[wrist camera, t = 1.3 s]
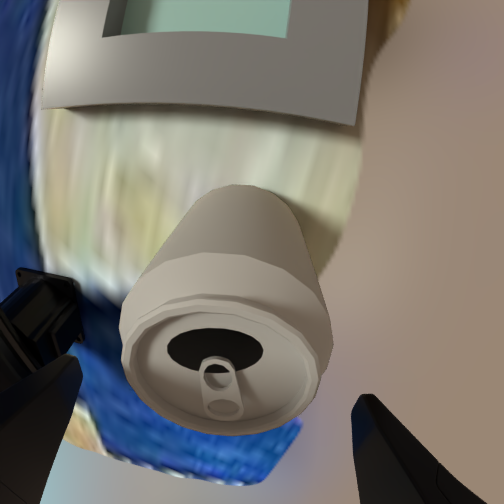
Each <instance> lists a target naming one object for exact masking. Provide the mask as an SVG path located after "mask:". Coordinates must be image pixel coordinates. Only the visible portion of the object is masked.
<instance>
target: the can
mask: <svg viewBox="0 0 504 504" xmlns="http://www.w3.org/2000/svg"><path fill="white" fill-rule="evenodd" d="M119 330H120V335H121V339H122V343H123V349H122V356H121V362H122V365H123V368H124V372H125V375H126V378H127V381H128V382H129V384H130V385H131V387H132V388H133V389H134V391H135V392H136V394H137V395H138V396H139V398H140V399H141V400H142V401H143V402H144V403H145V404H147V405H148V406H149V407H150V408H152V409H153V410H154V411H155V412H156V413H158V414H159V415H160V416H162V417H164V418H166V419H168V420H170V421H172V422H174V423H176V424H178V425H180V426H182V427H185V428H188V429H192V430H195V431H199V432H202V433H206V434H214V435H225V436H239V435H250V434H258V433H261V432H265V431H268V430H271V429H274V428H277V427H280V426H282V425H284V424H285V423H287V422H289V421H290V420H292V419H293V418H295V417H297V416H298V415H300V414H301V413H302V412H303V411H304V410H305V409H306V407H307V406H308V405H309V404H310V403H311V402H312V400H313V399H314V398H315V396H316V393H317V390H318V387H319V384H320V380H321V376H322V374H323V373H324V372H325V370H326V369H327V366H328V363H329V359H330V356H331V352H332V349H333V337H332V331H331V324H330V318H329V314H328V311H327V308H326V304H325V301H324V298H323V295H322V292H321V289H320V285H319V282H318V279H317V276H316V273H315V270H314V267H313V264H312V261H311V258H310V255H309V252H308V249H307V246H306V243H305V240H304V237H303V234H302V231H301V228H300V225H299V222H298V221H297V219H296V218H295V216H294V214H293V213H292V211H291V209H290V208H289V206H288V205H287V204H285V203H284V202H283V201H282V200H281V199H279V198H278V197H277V196H276V195H274V194H273V193H271V192H269V191H266V190H263V189H261V188H258V187H256V186H251V185H229V186H225V187H221V188H218V189H214V190H212V191H210V192H209V193H207V194H206V195H204V196H203V197H201V198H200V199H198V200H197V201H196V202H195V203H194V205H193V206H192V207H191V209H190V210H189V211H188V212H187V214H186V215H185V216H184V218H183V219H182V220H181V221H180V223H179V224H178V225H177V227H176V228H175V229H174V231H173V232H172V233H171V235H170V236H169V237H168V239H167V240H166V241H165V243H164V244H163V245H162V247H161V248H160V250H159V251H158V252H157V254H156V255H155V256H154V258H153V259H152V261H151V262H150V263H149V265H148V266H147V267H146V269H145V270H144V272H143V273H142V275H141V276H140V277H139V279H138V280H137V282H136V283H135V285H134V286H133V288H132V289H131V291H130V292H129V294H128V295H127V297H126V299H125V300H124V302H123V304H122V311H121V317H120V324H119Z"/></svg>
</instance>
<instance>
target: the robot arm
mask: <svg viewBox="0 0 504 504" xmlns="http://www.w3.org/2000/svg"><path fill="white" fill-rule="evenodd" d="M16 277H17V281H18V285H19V287H18V288H17V289H15V290H14V291H13V292H12V293H11V294H10V295H9V296H8V297H7V298H6V299H4V300H3V301H2V302H1V303H0V504H40V501H41V498H42V495H43V491H44V488H45V485H46V482H47V479H48V477H49V474H50V471H51V468H52V465H53V462H54V460H55V457H56V454H57V452H58V449H59V446H60V444H61V441H62V439H63V436H64V434H65V431H66V429H67V426H68V424H69V421H70V419H71V416H72V413H73V409H74V406H75V402H76V399H77V396H78V392H79V389H80V386H81V383H82V379H83V373H82V370H81V367H80V364H79V361H78V358H77V357H76V356H73V355H70V354H66V353H67V351H68V350H69V348H70V347H71V346H72V344H73V343H74V342H76V343H83V341H84V340H85V337H84V333H83V327H82V323H81V318H80V314H79V309H78V306H77V301H76V296H75V290H74V284H73V282H72V280H71V279H70V278H67V277H62V276H57V275H52V274H48V273H43V272H39V271H34V270H30V269H25V268H21V267H20V268H18V269H17V270H16ZM66 283H67V284H68V285H67V284H66ZM351 422H352V442H353V457H354V464H355V471H356V477H357V484H358V491H359V497H360V504H487V503H486V502H484V501H483V500H482V499H481V498H479V497H478V496H477V495H475V494H474V493H473V492H471V491H470V490H469V489H468V488H467V487H465V486H464V485H463V484H462V483H461V482H459V481H458V480H457V479H456V478H455V477H454V476H453V475H452V474H450V473H449V471H448V470H447V469H446V468H445V467H444V466H443V465H441V463H439V462H438V461H437V459H436V458H435V457H434V456H433V455H432V454H431V453H430V452H429V451H428V450H427V449H426V448H425V447H424V446H423V445H422V444H421V443H420V442H419V441H418V440H417V439H416V438H415V437H414V436H413V435H412V434H411V432H410V431H409V430H408V429H407V428H406V427H405V426H404V425H403V424H402V423H401V422H400V421H399V420H398V419H397V418H396V417H395V416H394V415H393V414H392V413H391V412H390V411H389V410H388V409H387V408H386V406H385V405H384V404H383V403H382V402H381V401H380V400H379V399H378V398H377V397H376V396H375V395H373V394H362V395H360V396H359V398H358V400H357V402H356V403H355V405H354V407H353V409H352V413H351Z"/></svg>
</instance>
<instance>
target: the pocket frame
mask: <svg viewBox="0 0 504 504" xmlns="http://www.w3.org/2000/svg"><path fill="white" fill-rule="evenodd" d="M367 16H368V0H59V4H58V8H57V12H56V16H55V20H54V24H53V29H52V34H51V39H50V44H49V49H48V55H47V62H46V69H45V76H44V85H43V95H42V107H41V109H59V108H72V107H84V106H99V105H124V104H169V105H195V106H211V107H223V108H234V109H244V110H253V111H261V112H269V113H276V114H283V115H290V116H296V117H302V118H308V119H313V120H319V121H324V122H329V123H334V124H339V125H345V126H355V121H356V115H357V108H358V101H359V93H360V86H361V78H362V69H363V60H364V51H365V40H366V29H367Z"/></svg>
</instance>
